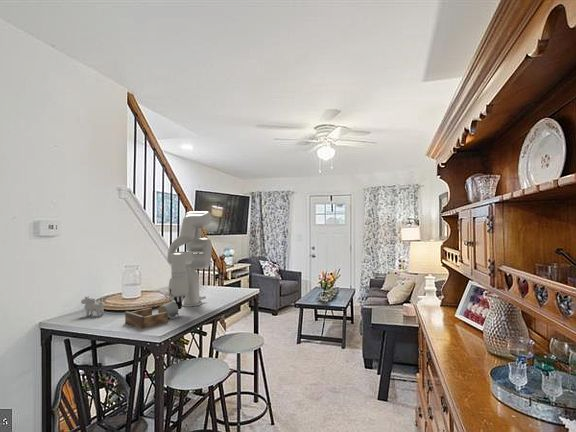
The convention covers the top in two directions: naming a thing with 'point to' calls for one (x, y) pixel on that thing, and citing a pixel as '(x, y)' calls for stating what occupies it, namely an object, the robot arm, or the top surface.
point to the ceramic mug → (169, 309)
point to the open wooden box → (145, 318)
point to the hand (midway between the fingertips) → (178, 308)
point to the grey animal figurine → (92, 306)
